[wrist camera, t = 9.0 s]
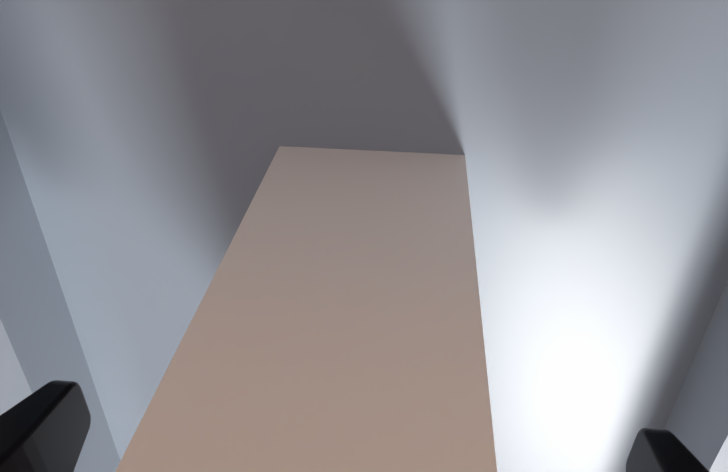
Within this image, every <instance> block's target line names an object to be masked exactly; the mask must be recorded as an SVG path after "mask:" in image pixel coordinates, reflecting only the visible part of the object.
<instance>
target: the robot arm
mask: <svg viewBox="0 0 728 472" xmlns="http://www.w3.org/2000/svg"><path fill="white" fill-rule="evenodd" d="M90 424H91V414H90V411H89V408H88V405H87V403H86V400H85V397H84V394H83V391H82V389H81V386H80V385H79V384H78V383H77V382H74V381H63V380H53V381H51V382H48V383H47V384H45V385H44V386H42V387H41V388H39V389H38V390H36V391H35V392H34V393H32V394H31V395H29V396H28V397H26V398H25V399H23V400H22V401H20V402H19V403H17V404H16V405H15V406H13V407H12V408H10V409H9V410H7V411H6V412H4V413H3V414H1V415H0V472H74V469H75V467H76V464H77V461H78V459H79V456H80V453H81V451H82V448H83V445H84V442H85V440H86V437H87V434H88V432H89V428H90ZM626 472H710V471H709V470H708V469H707V468H706V467H705V466H704V465H703V464H702V463H701V462H700V461H699V460H698V459H697V458H696V457H695V456H694V455H693V454H692V453H691V452H690V451H689V450H688V448H687V447H686V446H685V445H684V444H683V443H682V442H681V441H680V440H679V439H678V438H677V437H676V436H675V435H674V434H673V433H672V432H670V431H669V430H666V429H658V428H641V429H640V430H639V431H638V433H637V435H636V438H635V440H634V443H633V445H632V448H631V450H630V453H629V455H628V458H627V461H626Z"/></svg>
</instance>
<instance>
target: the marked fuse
mask: <svg viewBox="0 0 728 472" xmlns="http://www.w3.org/2000/svg"><path fill="white" fill-rule="evenodd" d="M115 472H497V465H496V455H495V445H494V435H493V426H492V416H491V406H490V396H489V386H488V376H487V366H486V356H485V347H484V337H483V327H482V317H481V307H480V297H479V287H478V277H477V267H476V258H475V248H474V238H473V228H472V218H471V208H470V198H469V188H468V178H467V169H466V159H465V155H453V154H433V153H412V152H392V151H371V150H351V149H330V148H309V147H289V146H279V148H278V150H277V152H276V154H275V156H274V158H273V160H272V162H271V164H270V166H269V168H268V170H267V172H266V174H265V176H264V178H263V180H262V182H261V184H260V186H259V188H258V190H257V192H256V194H255V196H254V198H253V200H252V202H251V204H250V206H249V208H248V210H247V212H246V214H245V216H244V218H243V220H242V222H241V224H240V226H239V227H238V229H237V231H236V233H235V235H234V237H233V239H232V241H231V243H230V245H229V247H228V249H227V251H226V253H225V255H224V257H223V259H222V261H221V263H220V265H219V267H218V269H217V271H216V273H215V275H214V277H213V279H212V281H211V283H210V285H209V287H208V289H207V291H206V293H205V295H204V297H203V299H202V301H201V303H200V305H199V307H198V309H197V311H196V313H195V315H194V317H193V319H192V321H191V322H190V324H189V326H188V328H187V330H186V332H185V334H184V336H183V338H182V340H181V342H180V344H179V346H178V348H177V350H176V352H175V354H174V356H173V358H172V360H171V362H170V364H169V366H168V368H167V370H166V372H165V374H164V376H163V378H162V380H161V382H160V384H159V386H158V388H157V390H156V392H155V394H154V396H153V398H152V400H151V402H150V404H149V406H148V408H147V410H146V412H145V414H144V415H143V417H142V419H141V421H140V423H139V425H138V427H137V429H136V431H135V433H134V435H133V437H132V439H131V441H130V443H129V445H128V447H127V449H126V451H125V453H124V455H123V457H122V459H121V461H120V463H119V465H118V467H117V469H116V471H115Z"/></svg>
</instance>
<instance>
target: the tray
mask: <svg viewBox="0 0 728 472" xmlns="http://www.w3.org/2000/svg"><path fill="white" fill-rule="evenodd" d="M279 146H289V147H309V148H330V149H351V150H371V151H392V152H412V153H433V154H453V155H465V159H466V169H467V178H468V188H469V198H470V208H471V218H472V228H473V238H474V248H475V258H476V267H477V277H478V287H479V297H480V307H481V317H482V327H483V337H484V347H485V356H486V366H487V376H488V386H489V396H490V406H491V416H492V426H493V435H494V445H495V455H496V465H497V472H626V461H627V458H628V455H629V453H630V450H631V448H632V445H633V443H634V440H635V438H636V435H637V433H638V431H639V430H640V429H641V428H658V429H666V430H669V431H670V432H672V433H673V434H674V435H675V436H676V437H677V438H678V439H679V440H680V441H681V442H682V443H683V444H684V445H685V446H686V447H687V448H688V450H689V451H690V452H691V453H692V454H693V455H694V456H695V457H696V458H697V459H698V460H699V461H700V462H701V463H702V464H703V465H704V466H705V467H706V468H707V469H708V470H709V471H710V472H728V0H0V415H1V414H3V413H4V412H6V411H7V410H9V409H10V408H12V407H13V406H15V405H16V404H17V403H19V402H20V401H22V400H23V399H25V398H26V397H28V396H29V395H31V394H32V393H34V392H35V391H36V390H38V389H39V388H41V387H42V386H44V385H45V384H47V383H48V382H51V381H53V380H63V381H74V382H77V383H78V384H79V385H80V386H81V389H82V391H83V394H84V397H85V400H86V403H87V405H88V408H89V411H90V414H91V424H90V428H89V432H88V434H87V437H86V440H85V442H84V445H83V448H82V451H81V453H80V456H79V459H78V461H77V464H76V467H75V469H74V472H115V471H116V469H117V467H118V465H119V463H120V461H121V459H122V457H123V455H124V453H125V451H126V449H127V447H128V445H129V443H130V441H131V439H132V437H133V435H134V433H135V431H136V429H137V427H138V425H139V423H140V421H141V419H142V417H143V415H144V414H145V412H146V410H147V408H148V406H149V404H150V402H151V400H152V398H153V396H154V394H155V392H156V390H157V388H158V386H159V384H160V382H161V380H162V378H163V376H164V374H165V372H166V370H167V368H168V366H169V364H170V362H171V360H172V358H173V356H174V354H175V352H176V350H177V348H178V346H179V344H180V342H181V340H182V338H183V336H184V334H185V332H186V330H187V328H188V326H189V324H190V322H191V321H192V319H193V317H194V315H195V313H196V311H197V309H198V307H199V305H200V303H201V301H202V299H203V297H204V295H205V293H206V291H207V289H208V287H209V285H210V283H211V281H212V279H213V277H214V275H215V273H216V271H217V269H218V267H219V265H220V263H221V261H222V259H223V257H224V255H225V253H226V251H227V249H228V247H229V245H230V243H231V241H232V239H233V237H234V235H235V233H236V231H237V229H238V227H239V226H240V224H241V222H242V220H243V218H244V216H245V214H246V212H247V210H248V208H249V206H250V204H251V202H252V200H253V198H254V196H255V194H256V192H257V190H258V188H259V186H260V184H261V182H262V180H263V178H264V176H265V174H266V172H267V170H268V168H269V166H270V164H271V162H272V160H273V158H274V156H275V154H276V152H277V150H278V148H279Z"/></svg>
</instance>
